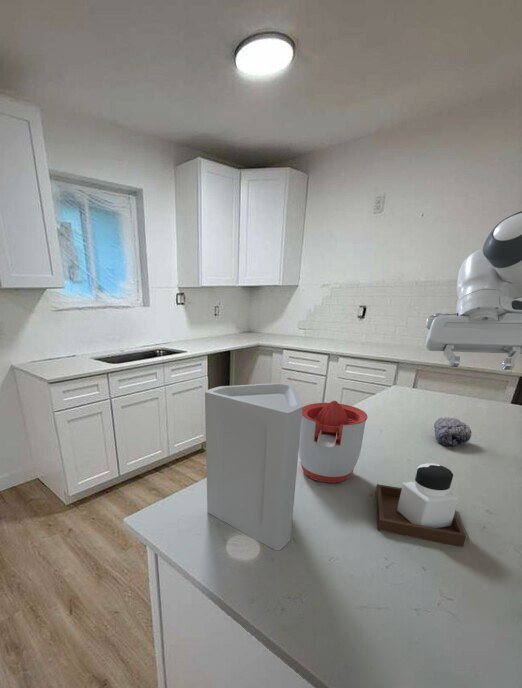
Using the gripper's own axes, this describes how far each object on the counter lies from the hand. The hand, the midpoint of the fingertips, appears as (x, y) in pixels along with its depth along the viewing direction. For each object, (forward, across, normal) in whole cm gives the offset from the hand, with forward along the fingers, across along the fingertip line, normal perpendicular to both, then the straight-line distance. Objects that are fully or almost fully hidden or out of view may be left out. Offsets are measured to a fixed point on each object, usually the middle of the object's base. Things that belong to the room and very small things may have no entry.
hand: (480, 366), depth 76 cm
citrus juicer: (+23, -28, +18) cm, 41 cm away
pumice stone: (+1, +5, +41) cm, 41 cm away
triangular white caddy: (+40, -40, +2) cm, 56 cm away
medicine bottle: (+33, -8, +8) cm, 34 cm away
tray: (+32, -9, +9) cm, 35 cm away
